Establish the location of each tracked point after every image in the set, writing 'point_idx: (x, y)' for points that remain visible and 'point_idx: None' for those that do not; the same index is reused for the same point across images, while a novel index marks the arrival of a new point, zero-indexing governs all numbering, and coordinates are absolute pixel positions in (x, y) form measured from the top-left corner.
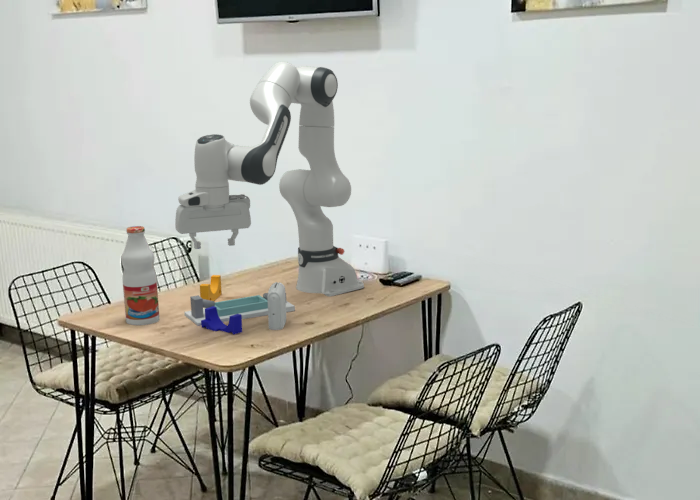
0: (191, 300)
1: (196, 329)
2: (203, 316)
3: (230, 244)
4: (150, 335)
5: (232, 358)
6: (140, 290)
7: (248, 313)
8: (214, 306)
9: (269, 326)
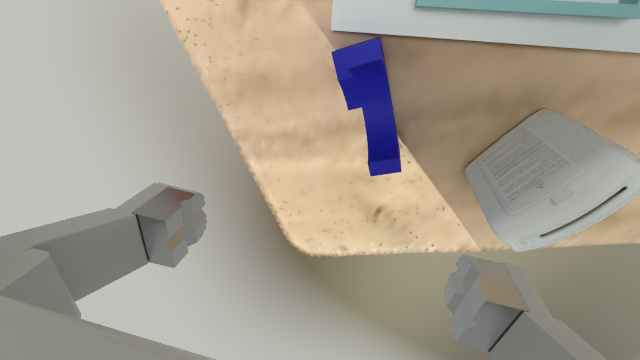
0: None
1: (326, 36)
2: None
3: (451, 302)
4: (211, 7)
5: (318, 234)
6: None
7: (511, 35)
8: None
9: (466, 175)
